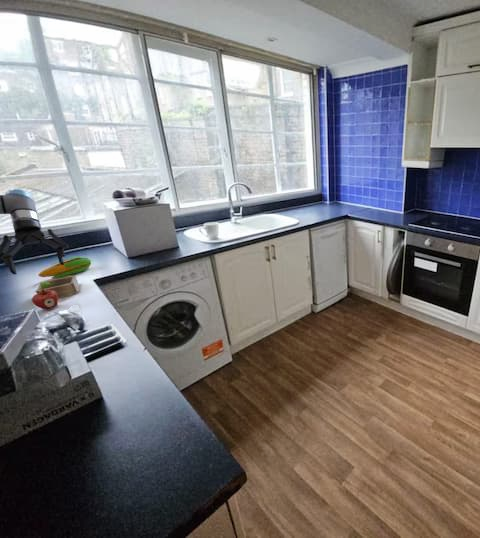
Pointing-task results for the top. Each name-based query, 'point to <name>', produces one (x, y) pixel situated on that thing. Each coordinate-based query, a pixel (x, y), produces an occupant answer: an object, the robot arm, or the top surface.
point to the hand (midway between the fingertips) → (38, 268)
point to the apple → (45, 298)
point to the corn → (67, 267)
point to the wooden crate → (62, 286)
